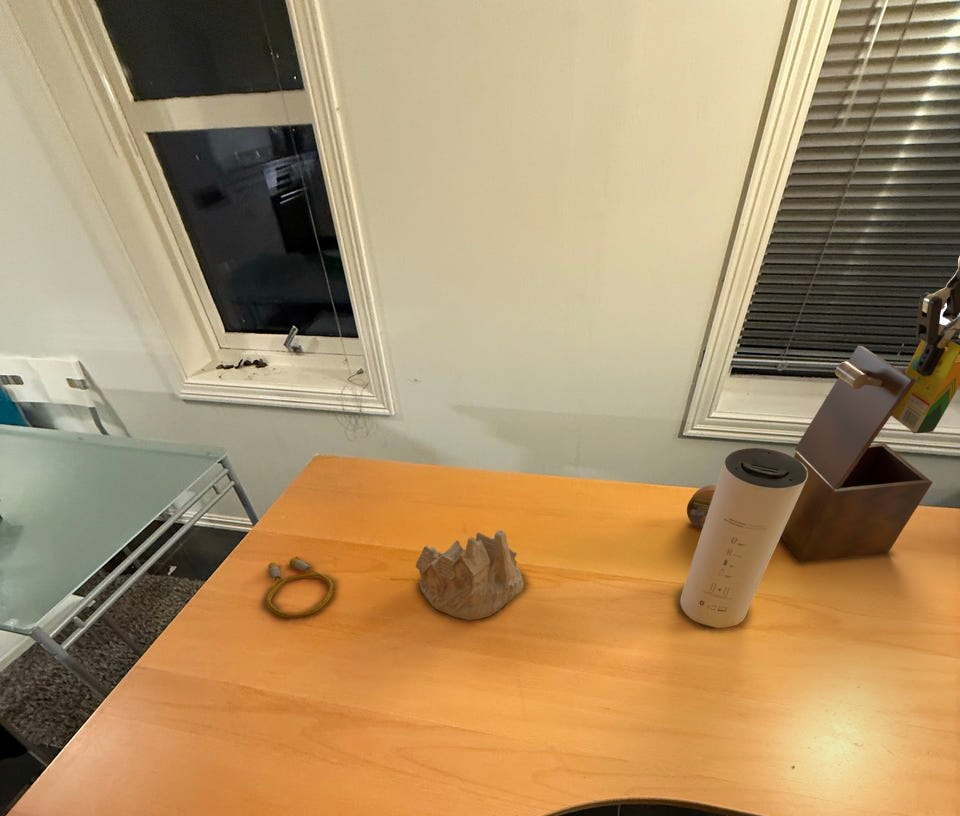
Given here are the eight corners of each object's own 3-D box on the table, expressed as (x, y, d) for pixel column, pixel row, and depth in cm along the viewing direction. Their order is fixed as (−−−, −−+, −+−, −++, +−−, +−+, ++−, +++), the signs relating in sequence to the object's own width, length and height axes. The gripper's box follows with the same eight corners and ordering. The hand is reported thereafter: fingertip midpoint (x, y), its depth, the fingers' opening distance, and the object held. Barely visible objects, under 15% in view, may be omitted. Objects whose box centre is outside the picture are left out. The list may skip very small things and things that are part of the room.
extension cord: (335, 558, 104) (333, 549, 102) (332, 614, 93) (329, 606, 92) (271, 566, 103) (267, 558, 101) (260, 624, 92) (256, 616, 91)
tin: (682, 525, 105) (692, 486, 99) (686, 516, 107) (696, 478, 101) (764, 544, 100) (781, 505, 94) (767, 535, 102) (783, 495, 95)
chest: (847, 513, 105) (884, 443, 94) (887, 554, 96) (933, 482, 86) (767, 521, 104) (795, 451, 94) (800, 563, 96) (835, 491, 85)
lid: (862, 346, 82) (831, 341, 81) (916, 380, 73) (882, 375, 72) (798, 449, 94) (770, 446, 93) (838, 489, 85) (808, 486, 84)
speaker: (756, 603, 90) (821, 457, 70) (731, 640, 84) (794, 494, 65) (695, 578, 95) (740, 436, 75) (668, 612, 89) (709, 468, 70)
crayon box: (933, 432, 78) (984, 346, 70) (913, 434, 78) (962, 348, 70) (903, 410, 83) (947, 326, 75) (884, 411, 83) (925, 328, 75)
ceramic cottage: (536, 586, 95) (531, 513, 84) (463, 635, 89) (448, 562, 78) (480, 550, 104) (469, 480, 93) (411, 592, 98) (391, 522, 87)
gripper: (1050, 207, 66) (965, 357, 78) (937, 217, 65) (870, 367, 78) (1105, 219, 61) (1004, 378, 73) (983, 231, 60) (902, 389, 73)
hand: (935, 372), depth 76 cm, fingers closed on crayon box, 3 cm apart
